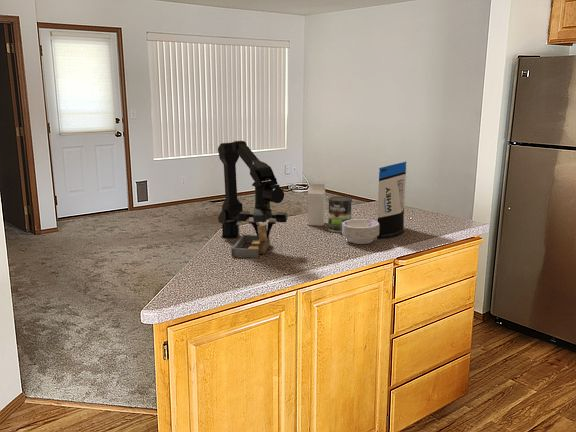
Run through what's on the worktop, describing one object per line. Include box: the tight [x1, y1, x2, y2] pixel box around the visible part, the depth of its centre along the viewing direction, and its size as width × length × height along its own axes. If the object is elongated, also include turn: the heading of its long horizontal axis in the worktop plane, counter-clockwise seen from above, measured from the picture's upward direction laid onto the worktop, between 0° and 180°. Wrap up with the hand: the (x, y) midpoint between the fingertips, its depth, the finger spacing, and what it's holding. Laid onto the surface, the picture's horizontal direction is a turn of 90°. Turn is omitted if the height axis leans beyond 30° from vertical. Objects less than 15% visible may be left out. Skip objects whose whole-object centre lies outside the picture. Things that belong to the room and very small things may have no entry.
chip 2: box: [247, 245, 260, 256], centre depth 203 cm, size 4×4×2 cm
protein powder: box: [376, 161, 407, 240], centre depth 226 cm, size 10×24×30 cm, turn 142°
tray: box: [230, 234, 259, 258], centre depth 208 cm, size 10×20×3 cm, turn 173°
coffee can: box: [327, 195, 353, 233], centre depth 235 cm, size 10×10×14 cm
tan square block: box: [250, 240, 260, 247], centre depth 211 cm, size 4×4×2 cm
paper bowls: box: [341, 218, 379, 245], centre depth 217 cm, size 15×15×8 cm
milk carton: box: [307, 182, 326, 227], centre depth 244 cm, size 7×7×19 cm
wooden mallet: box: [257, 223, 271, 255], centre depth 206 cm, size 3×14×10 cm, turn 173°
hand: (263, 238), depth 206 cm, fingers closed on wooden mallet, 3 cm apart
